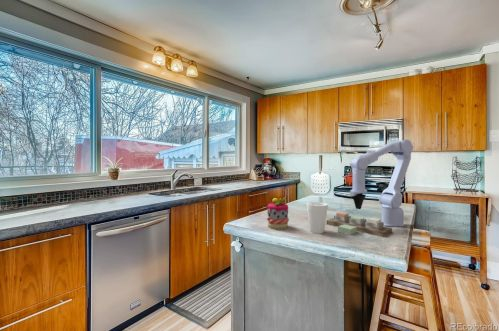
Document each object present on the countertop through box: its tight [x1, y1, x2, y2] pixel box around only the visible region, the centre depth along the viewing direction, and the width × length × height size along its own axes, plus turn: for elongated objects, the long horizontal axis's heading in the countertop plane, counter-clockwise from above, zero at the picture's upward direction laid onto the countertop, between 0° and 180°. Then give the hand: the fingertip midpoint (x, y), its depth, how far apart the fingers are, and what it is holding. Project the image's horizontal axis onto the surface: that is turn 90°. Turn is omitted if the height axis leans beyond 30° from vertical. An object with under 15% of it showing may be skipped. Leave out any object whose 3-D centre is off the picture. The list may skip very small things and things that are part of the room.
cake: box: [266, 197, 290, 230], centre depth 127 cm, size 10×11×15 cm
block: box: [337, 224, 358, 235], centre depth 118 cm, size 6×6×2 cm
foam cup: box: [306, 201, 329, 234], centre depth 119 cm, size 10×9×13 cm
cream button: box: [366, 217, 382, 224], centre depth 118 cm, size 4×4×3 cm
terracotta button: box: [335, 211, 350, 218], centre depth 130 cm, size 4×4×3 cm
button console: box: [326, 215, 393, 238], centre depth 125 cm, size 28×10×4 cm, turn 41°
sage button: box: [351, 215, 365, 221], centre depth 124 cm, size 4×4×3 cm
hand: (358, 208), depth 127 cm, fingers closed
